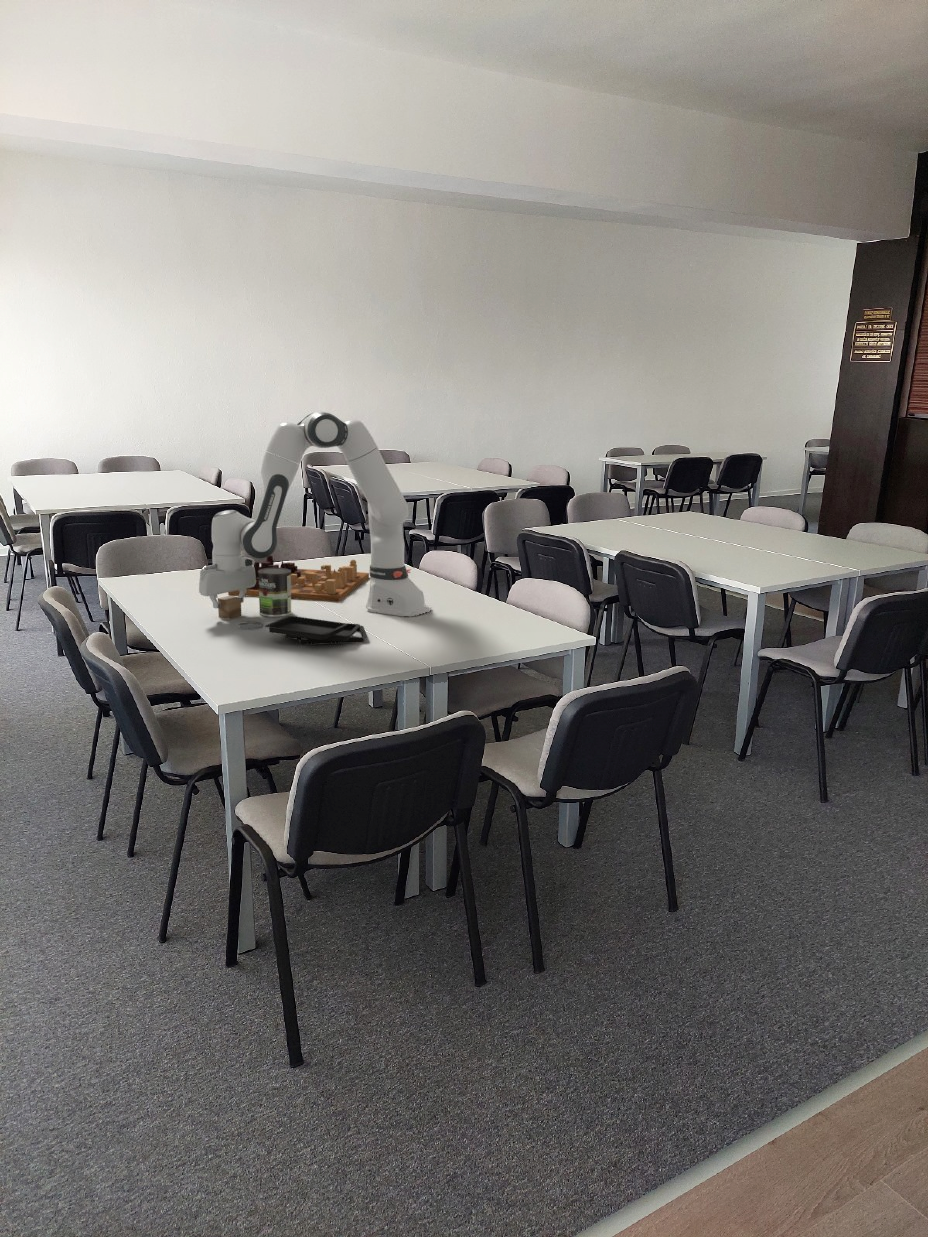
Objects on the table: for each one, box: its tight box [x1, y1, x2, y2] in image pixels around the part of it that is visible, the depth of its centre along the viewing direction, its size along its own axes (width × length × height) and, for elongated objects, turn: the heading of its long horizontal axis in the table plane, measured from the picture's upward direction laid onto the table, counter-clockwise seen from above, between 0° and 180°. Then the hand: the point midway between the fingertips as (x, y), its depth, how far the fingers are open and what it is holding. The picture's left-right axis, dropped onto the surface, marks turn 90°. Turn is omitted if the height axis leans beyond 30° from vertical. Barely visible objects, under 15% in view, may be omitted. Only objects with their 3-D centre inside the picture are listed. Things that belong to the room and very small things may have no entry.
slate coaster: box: [238, 621, 263, 630], centre depth 273 cm, size 7×7×1 cm
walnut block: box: [217, 595, 243, 620], centre depth 284 cm, size 5×5×6 cm
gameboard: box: [227, 554, 370, 602], centre depth 328 cm, size 40×40×9 cm
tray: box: [265, 615, 368, 646], centre depth 260 cm, size 30×23×5 cm
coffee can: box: [258, 567, 292, 618], centre depth 288 cm, size 10×10×14 cm
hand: (228, 605), depth 283 cm, fingers open, 8 cm apart
